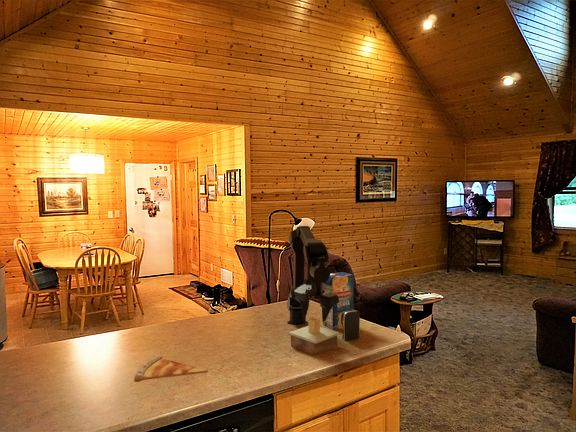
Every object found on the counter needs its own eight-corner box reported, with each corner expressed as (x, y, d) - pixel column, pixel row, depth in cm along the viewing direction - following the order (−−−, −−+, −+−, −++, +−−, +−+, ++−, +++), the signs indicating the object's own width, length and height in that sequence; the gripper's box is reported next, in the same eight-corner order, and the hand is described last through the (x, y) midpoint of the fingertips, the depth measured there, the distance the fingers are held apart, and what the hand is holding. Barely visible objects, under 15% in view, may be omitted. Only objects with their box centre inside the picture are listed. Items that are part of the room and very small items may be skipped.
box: (290, 347, 160) (290, 334, 160) (312, 339, 169) (313, 326, 168) (315, 357, 152) (315, 342, 151) (337, 347, 160) (337, 334, 160)
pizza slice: (172, 393, 126) (172, 386, 126) (119, 377, 137) (119, 370, 137) (207, 373, 140) (207, 366, 140) (157, 359, 151) (156, 353, 151)
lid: (289, 334, 160) (289, 318, 159) (312, 326, 169) (312, 311, 168) (315, 343, 151) (315, 327, 150) (339, 334, 160) (339, 318, 159)
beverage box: (322, 326, 184) (322, 274, 182) (343, 322, 190) (343, 271, 188) (332, 331, 178) (332, 277, 177) (353, 326, 184) (353, 274, 182)
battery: (354, 336, 172) (354, 308, 171) (359, 339, 168) (360, 310, 168) (339, 339, 169) (339, 310, 168) (345, 342, 165) (345, 313, 164)
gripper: (280, 275, 159) (280, 317, 160) (319, 284, 146) (318, 330, 147) (301, 271, 167) (301, 311, 168) (340, 279, 154) (339, 322, 155)
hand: (314, 318), depth 159 cm, fingers open, 9 cm apart
